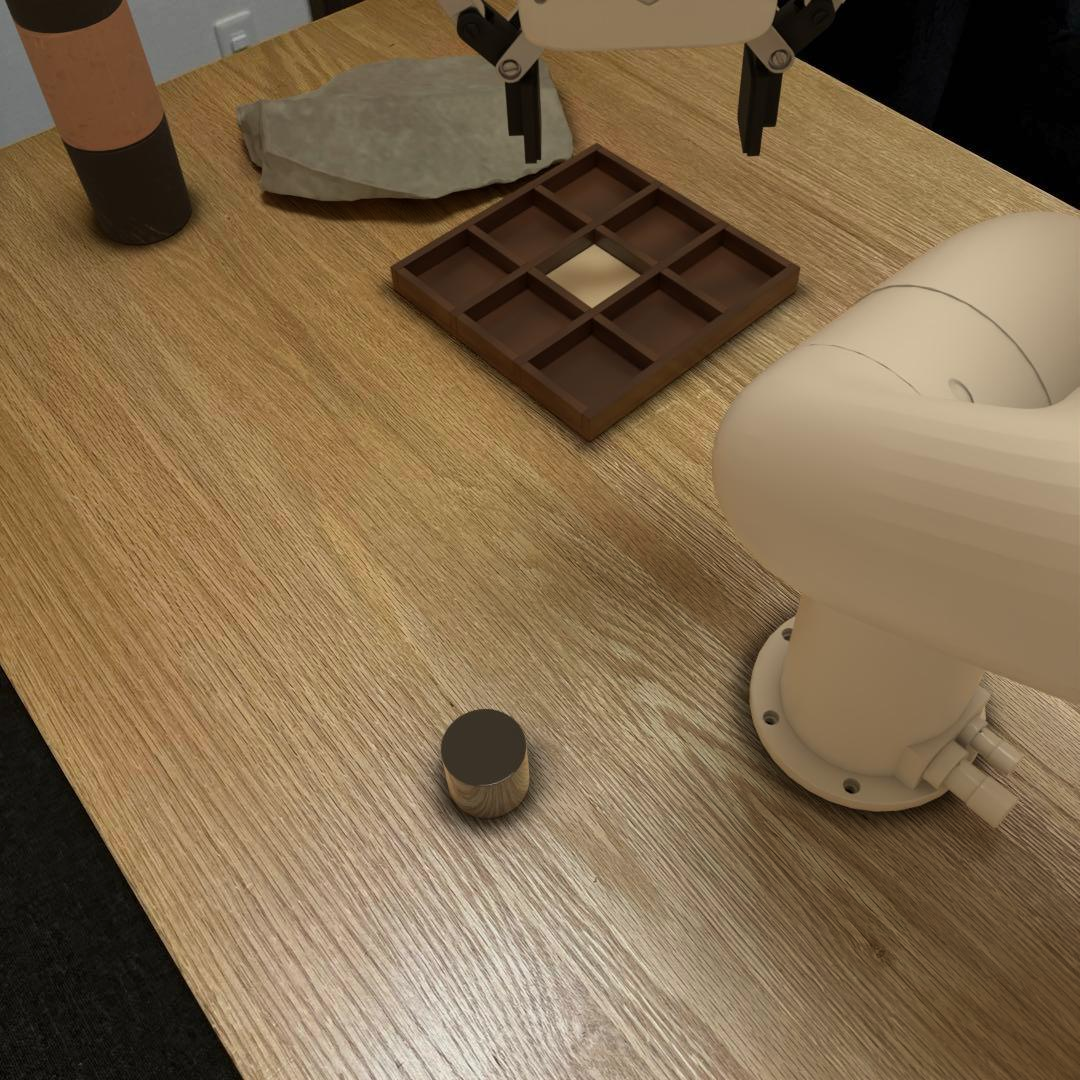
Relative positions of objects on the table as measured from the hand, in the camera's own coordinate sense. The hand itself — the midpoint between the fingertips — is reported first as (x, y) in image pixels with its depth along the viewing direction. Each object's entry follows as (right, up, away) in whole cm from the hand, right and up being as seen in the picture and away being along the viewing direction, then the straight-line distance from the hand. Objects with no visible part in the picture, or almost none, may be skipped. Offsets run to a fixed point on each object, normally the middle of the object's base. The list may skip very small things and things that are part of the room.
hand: (640, 141), depth 54 cm
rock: (-15, +14, +45) cm, 49 cm away
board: (-1, 0, +33) cm, 33 cm away
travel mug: (-36, +8, +41) cm, 54 cm away
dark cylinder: (-7, -31, +11) cm, 33 cm away
